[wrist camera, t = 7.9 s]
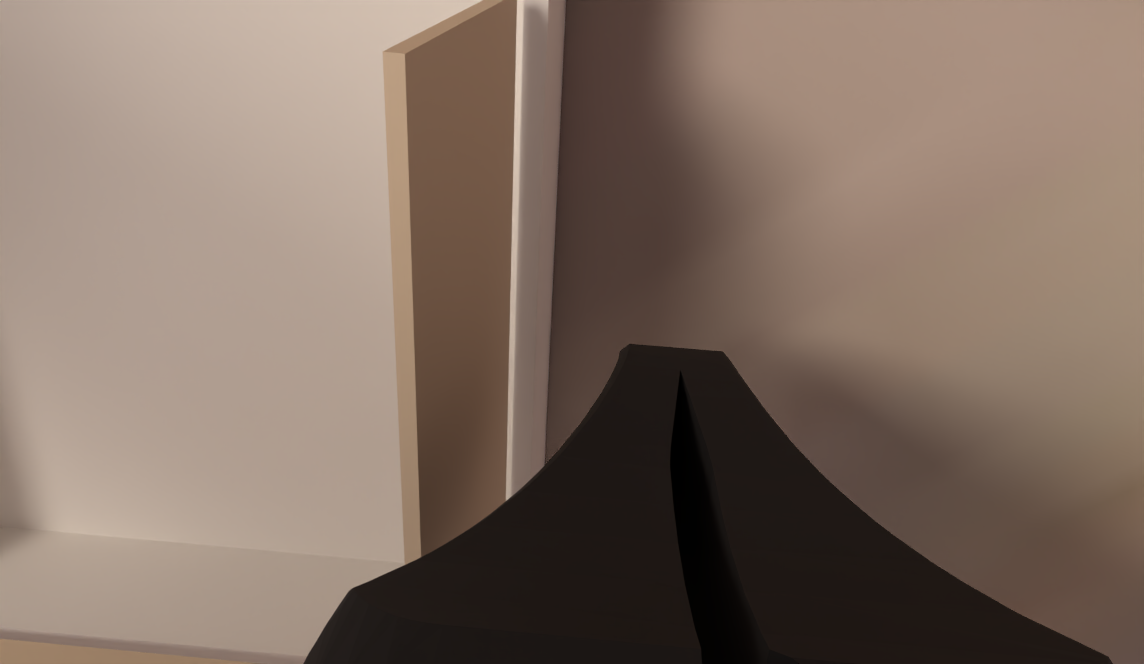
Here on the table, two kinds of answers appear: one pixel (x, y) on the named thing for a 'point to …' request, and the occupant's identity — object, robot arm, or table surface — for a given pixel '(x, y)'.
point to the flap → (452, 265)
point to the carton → (222, 313)
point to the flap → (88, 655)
